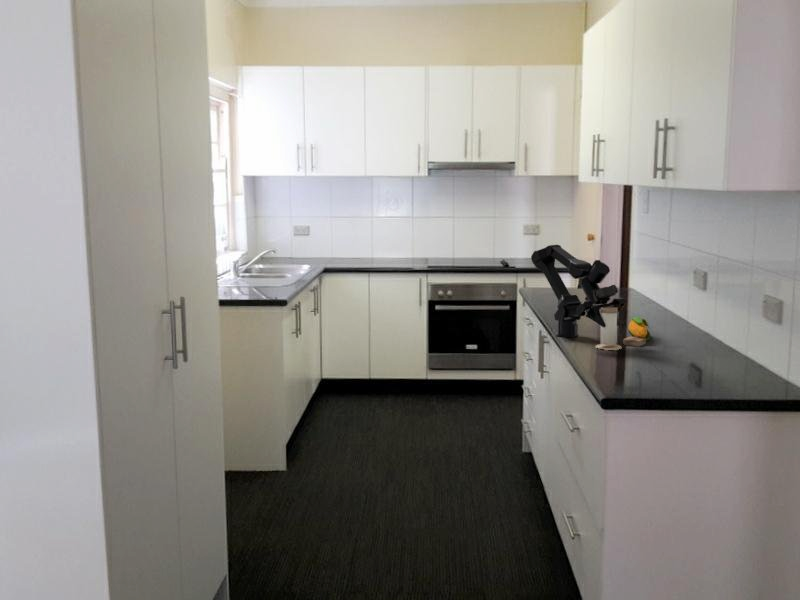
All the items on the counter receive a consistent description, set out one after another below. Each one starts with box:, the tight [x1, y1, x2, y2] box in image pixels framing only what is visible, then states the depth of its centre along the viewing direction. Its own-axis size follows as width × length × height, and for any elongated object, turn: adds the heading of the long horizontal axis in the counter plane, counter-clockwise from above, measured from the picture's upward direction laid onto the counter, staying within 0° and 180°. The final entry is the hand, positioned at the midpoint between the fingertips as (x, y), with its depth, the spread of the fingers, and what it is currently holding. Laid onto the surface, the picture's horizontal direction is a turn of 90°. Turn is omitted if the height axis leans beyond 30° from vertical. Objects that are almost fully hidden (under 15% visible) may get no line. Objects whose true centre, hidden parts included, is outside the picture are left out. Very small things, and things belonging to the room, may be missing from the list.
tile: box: [622, 336, 647, 347], centre depth 302 cm, size 6×6×2 cm
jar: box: [599, 306, 618, 345], centre depth 296 cm, size 6×6×13 cm
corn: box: [628, 316, 651, 341], centre depth 311 cm, size 7×8×20 cm
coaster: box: [595, 343, 622, 351], centre depth 297 cm, size 9×9×1 cm
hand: (611, 326), depth 295 cm, fingers closed on jar, 5 cm apart
